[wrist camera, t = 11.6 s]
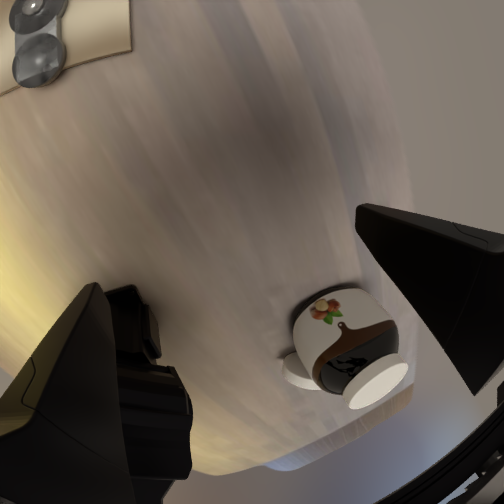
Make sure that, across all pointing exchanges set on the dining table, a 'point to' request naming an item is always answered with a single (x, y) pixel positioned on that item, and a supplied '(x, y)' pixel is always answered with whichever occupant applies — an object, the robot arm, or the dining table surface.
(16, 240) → the dining table surface
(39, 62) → the set of metal discs
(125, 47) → the board
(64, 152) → the dining table surface
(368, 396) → the spread jar
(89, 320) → the robot arm
